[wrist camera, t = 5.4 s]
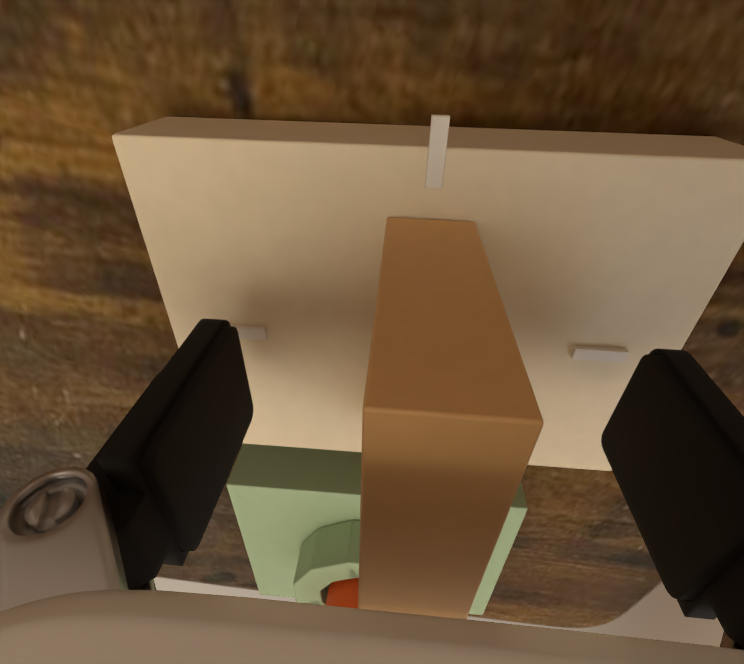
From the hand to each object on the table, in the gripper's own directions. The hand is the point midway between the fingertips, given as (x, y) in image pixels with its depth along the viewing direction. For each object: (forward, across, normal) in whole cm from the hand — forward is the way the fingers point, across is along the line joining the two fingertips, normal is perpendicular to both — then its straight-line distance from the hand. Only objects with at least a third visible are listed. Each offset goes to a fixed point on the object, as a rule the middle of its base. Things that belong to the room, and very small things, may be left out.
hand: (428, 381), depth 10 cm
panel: (+4, 0, 0) cm, 4 cm away
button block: (+4, +1, +13) cm, 14 cm away
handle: (+2, 0, 0) cm, 2 cm away
